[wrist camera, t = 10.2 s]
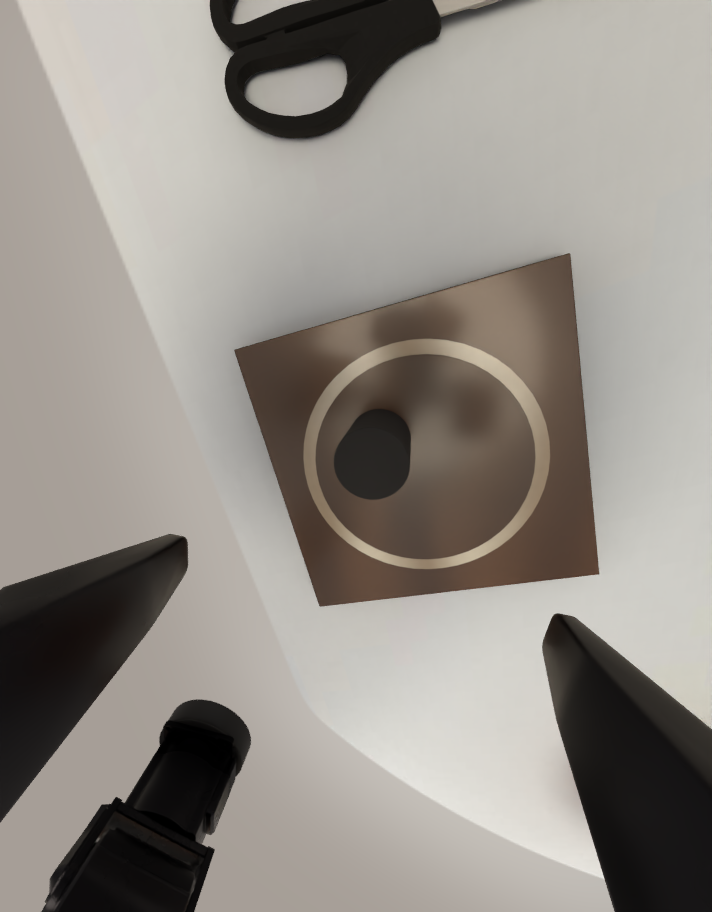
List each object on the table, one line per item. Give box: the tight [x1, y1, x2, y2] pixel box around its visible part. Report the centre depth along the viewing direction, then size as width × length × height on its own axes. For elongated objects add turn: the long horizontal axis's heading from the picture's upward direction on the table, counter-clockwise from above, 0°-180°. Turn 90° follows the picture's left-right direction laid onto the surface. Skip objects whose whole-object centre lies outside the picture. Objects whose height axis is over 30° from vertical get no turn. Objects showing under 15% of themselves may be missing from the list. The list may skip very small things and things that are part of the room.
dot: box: [334, 409, 411, 500], centre depth 17 cm, size 3×3×4 cm
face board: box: [234, 253, 599, 606], centre depth 20 cm, size 16×16×1 cm
